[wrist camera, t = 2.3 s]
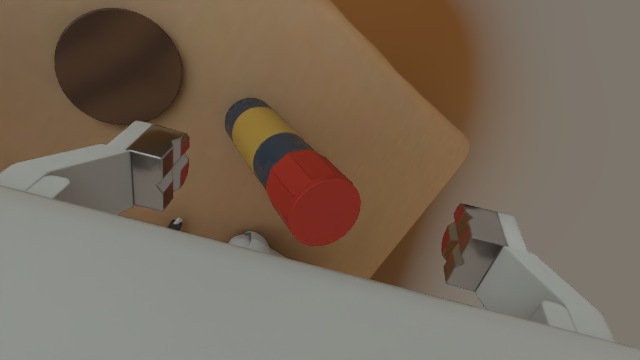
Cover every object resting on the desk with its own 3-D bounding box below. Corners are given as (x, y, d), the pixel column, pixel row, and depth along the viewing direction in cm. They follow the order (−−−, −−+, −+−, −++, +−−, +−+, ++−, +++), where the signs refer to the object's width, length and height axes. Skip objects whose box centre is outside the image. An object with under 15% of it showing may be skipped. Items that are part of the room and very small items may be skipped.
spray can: (213, 121, 43) (261, 195, 31) (252, 87, 43) (315, 146, 31) (246, 154, 46) (301, 232, 34) (282, 121, 46) (350, 188, 34)
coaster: (25, 63, 34) (24, 66, 34) (117, -19, 34) (117, -19, 34) (125, 142, 40) (126, 146, 40) (203, 72, 41) (204, 74, 40)
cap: (251, 185, 32) (273, 220, 28) (306, 134, 32) (336, 162, 28) (292, 223, 35) (317, 259, 31) (342, 177, 35) (374, 208, 31)
